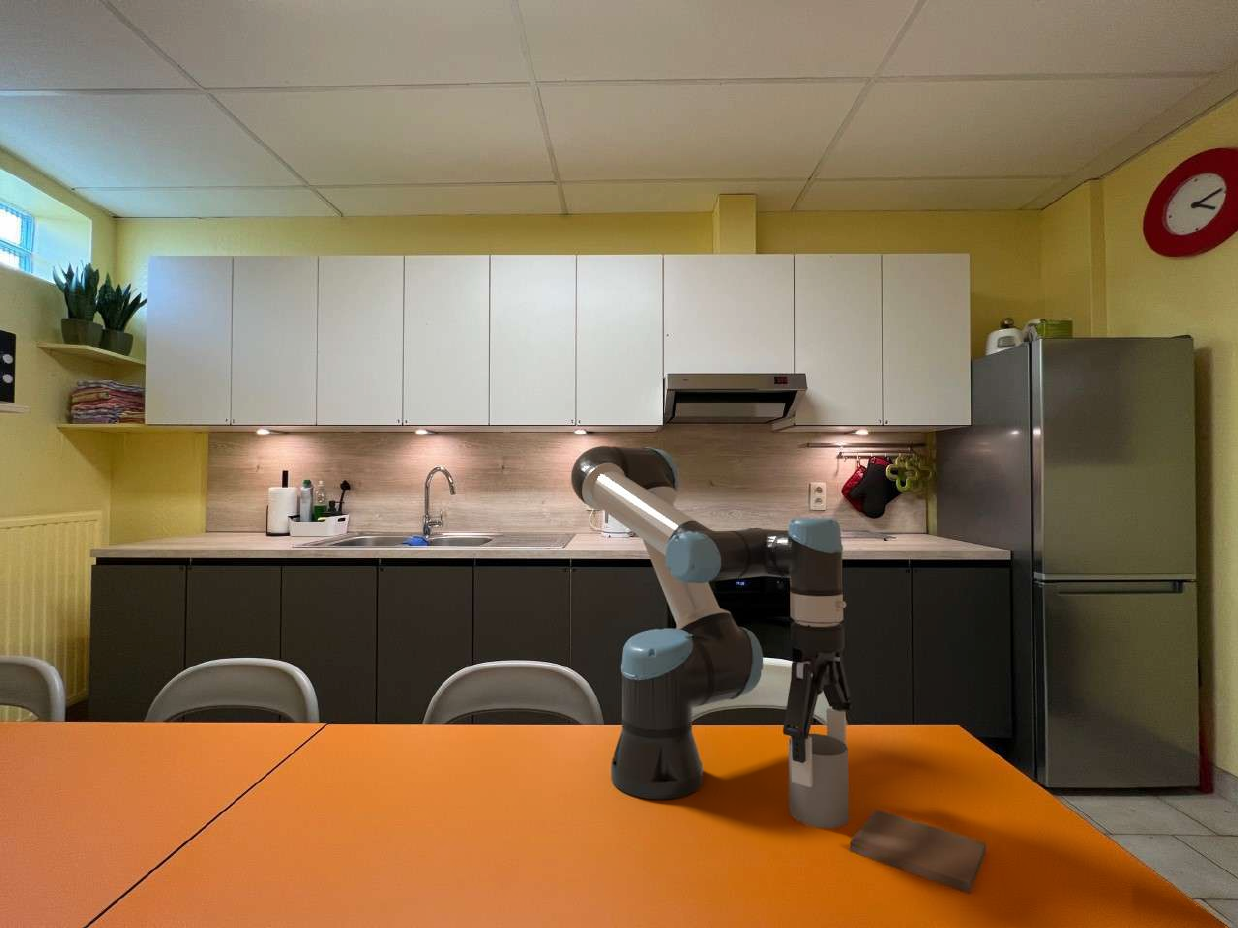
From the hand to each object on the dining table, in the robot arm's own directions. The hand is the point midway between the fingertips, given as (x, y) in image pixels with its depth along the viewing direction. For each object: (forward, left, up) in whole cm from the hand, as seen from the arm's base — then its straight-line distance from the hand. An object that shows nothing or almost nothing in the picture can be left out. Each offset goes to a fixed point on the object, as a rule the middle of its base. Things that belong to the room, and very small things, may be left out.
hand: (820, 767), depth 93 cm
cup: (0, 0, -7) cm, 7 cm away
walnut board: (+14, -1, -7) cm, 15 cm away
